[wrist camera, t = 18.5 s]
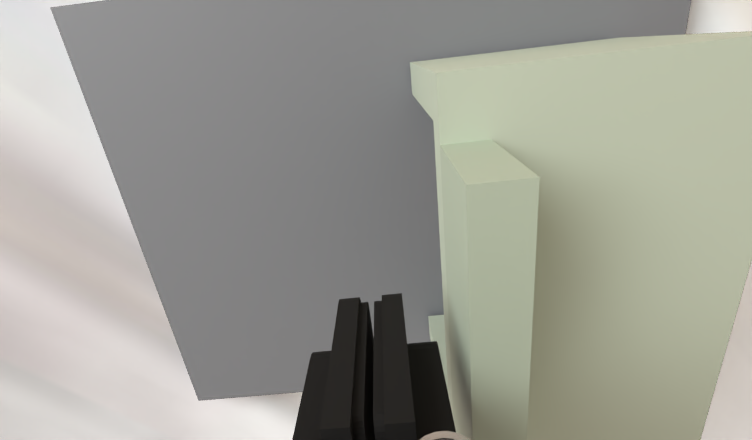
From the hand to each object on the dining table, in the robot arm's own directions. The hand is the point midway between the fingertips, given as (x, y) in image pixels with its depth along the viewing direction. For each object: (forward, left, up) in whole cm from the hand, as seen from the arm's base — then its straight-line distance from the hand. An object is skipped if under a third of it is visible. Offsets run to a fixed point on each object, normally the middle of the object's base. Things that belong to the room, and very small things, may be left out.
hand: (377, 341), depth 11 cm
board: (0, -1, -10) cm, 10 cm away
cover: (0, -6, -8) cm, 10 cm away
